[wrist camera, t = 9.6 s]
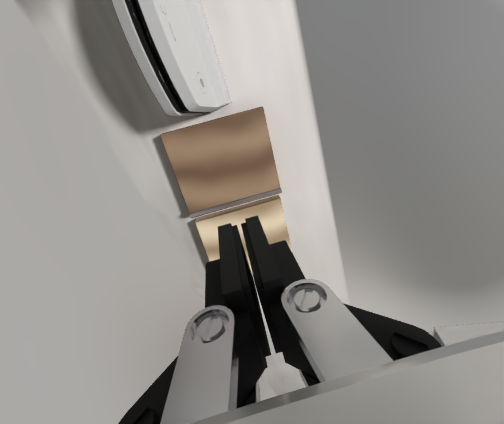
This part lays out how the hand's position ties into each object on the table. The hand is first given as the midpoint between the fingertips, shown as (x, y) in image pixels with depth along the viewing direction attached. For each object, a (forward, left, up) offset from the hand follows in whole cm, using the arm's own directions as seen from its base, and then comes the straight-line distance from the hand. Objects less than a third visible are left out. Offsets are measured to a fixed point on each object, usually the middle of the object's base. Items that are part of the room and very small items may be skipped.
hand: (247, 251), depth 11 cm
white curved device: (-13, -2, -27) cm, 30 cm away
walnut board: (+2, 0, -27) cm, 27 cm away
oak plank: (+14, 0, -27) cm, 30 cm away
